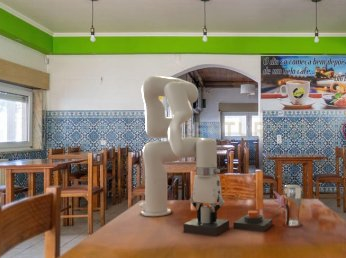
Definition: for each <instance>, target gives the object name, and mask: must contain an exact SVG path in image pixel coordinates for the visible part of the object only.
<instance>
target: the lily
mask: <svg viewBox="0 0 346 258" xmlns="http://www.w3.org/2000/svg"><path fill="white" fill-rule="evenodd" d="M273 193H274V194H275V196H276V199H274V202H275V203H277V204H278V205H279V206H278V209H276V214H275V216H277V215H278V212H279V210H280V208H282V209H283V211H284V212H285V209H284V203H283V194H281V195H280V194H279V193H278V192H277V191H275V190H273Z"/></svg>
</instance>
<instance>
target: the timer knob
mask: <svg viewBox="0 0 346 258" xmlns="http://www.w3.org/2000/svg"><path fill="white" fill-rule="evenodd" d="M211 212H212V209H211V205H203V206H201V223H211V215H210V213H211Z"/></svg>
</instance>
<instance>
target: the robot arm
mask: <svg viewBox="0 0 346 258" xmlns="http://www.w3.org/2000/svg"><path fill="white" fill-rule="evenodd" d="M141 95H142V100H143V103H144V117H145V134H146V136H147V137H148V138H150V139H167V140H165V141H163V140H160V141H158V140H157V141H149V142H147V143H145V144H144V146H143V148H142V158H143V163H144V181H145V182H144V187H145V188H144V202H140V204H139V205H138V208H140V209H142V211H141V216H144V217H163V216H167V215H170V214H171V213H172V209H171V208H169V207H168V171H167V169H166V167H165V165H164V164H165V163H174V162H178V161H180V159H184V158H185V159H186V158H195V162H196V163H195V164H196V166H195V167H196V169H195V170H196V171H195V173H196V175H194V178H193V185H192V195H191V196H190V198H189V199H188V201H189V203H190V204H191V205H192V206H193V207H194V208H195V211H196V218H197V219H198V222H200V221H201V206H204V204H206V205H207V204H208V205H209V206H211V209H212V212H211V213H210V215H211V223H214V222H216V220H217V219H218V211H219V209H221V207H223V206H224V205H225V204H226V200H225V199H224V198H223V196H222V195H223V194H222V183H221V178H220V175H218V174H220V173H221V169H220V168H218V142H217V140H216V139H215V138H213V137H211V138H210V137H200V136H197V137H194V136H192V137H190V136H189V137H188V136H187V137H183V136H182V133H183V132H182V124H185V123H186V122H188V121H189V120H191V119H192V117H193V116H194V110H193V107H192V105H191V104H194V103H195V102H196V101H198V99H199V90H198V88H197V86H196V85H195V83H193V82H190V81H187V80H184V79H181V78H177V77H168V76H162V75H161V76H159V75H152V76H148V77H146V78H145V79H144V80H143V82H142V85H141ZM160 97H164V98H165V99H166V103H167V106H168V109H169V111H170V114H171V116H166V107H165V103H164V102H163V100H162V99H161V98H160Z"/></svg>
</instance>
